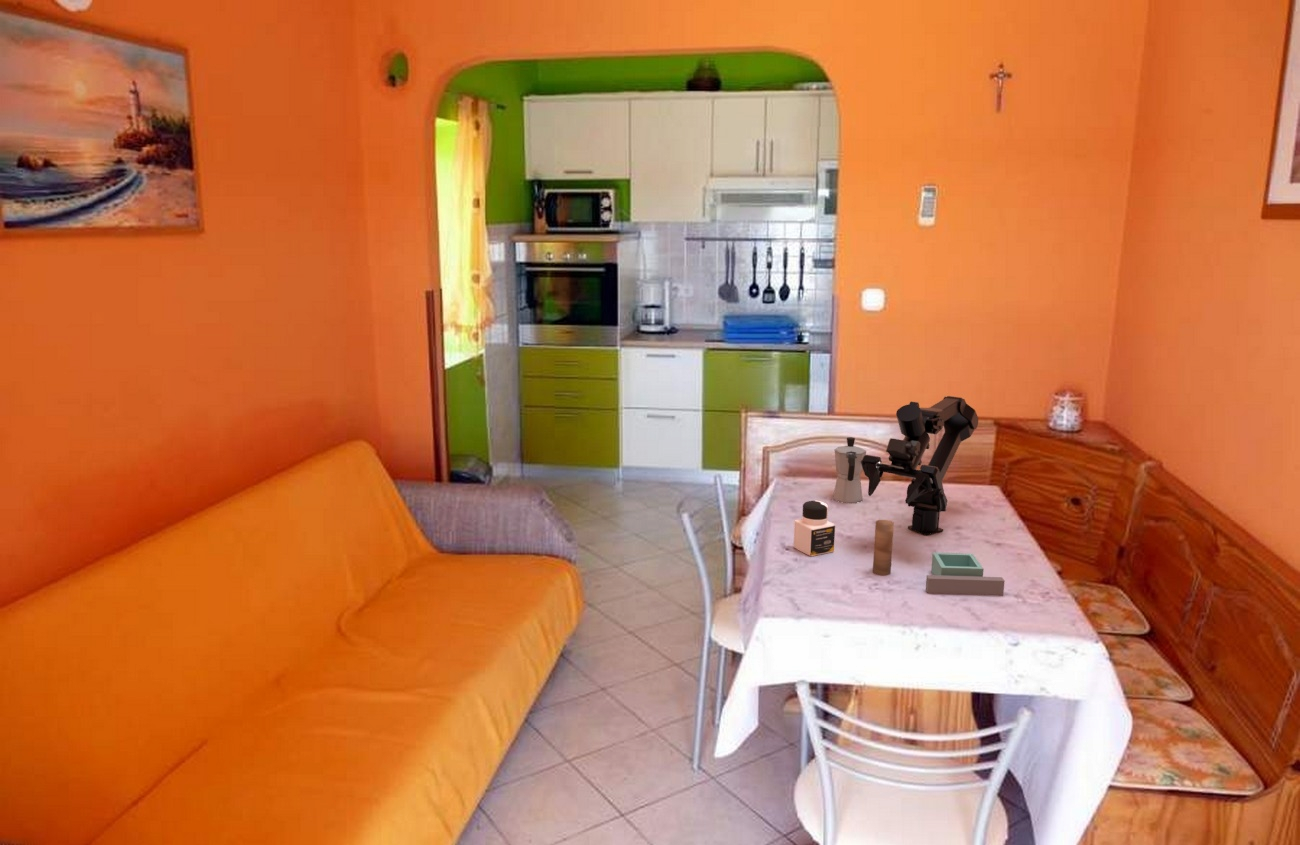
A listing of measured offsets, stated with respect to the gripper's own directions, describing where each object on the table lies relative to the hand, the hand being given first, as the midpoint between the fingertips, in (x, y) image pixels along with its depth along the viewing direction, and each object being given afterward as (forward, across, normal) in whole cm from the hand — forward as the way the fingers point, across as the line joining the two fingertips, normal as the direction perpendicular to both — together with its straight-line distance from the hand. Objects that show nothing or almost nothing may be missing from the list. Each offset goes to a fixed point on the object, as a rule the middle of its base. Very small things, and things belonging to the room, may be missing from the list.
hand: (887, 498), depth 220 cm
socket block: (+10, +18, +11) cm, 23 cm away
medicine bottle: (+13, -16, +10) cm, 23 cm away
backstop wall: (+15, +22, +8) cm, 28 cm away
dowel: (+15, +3, +8) cm, 17 cm away
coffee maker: (-20, -27, +34) cm, 48 cm away
